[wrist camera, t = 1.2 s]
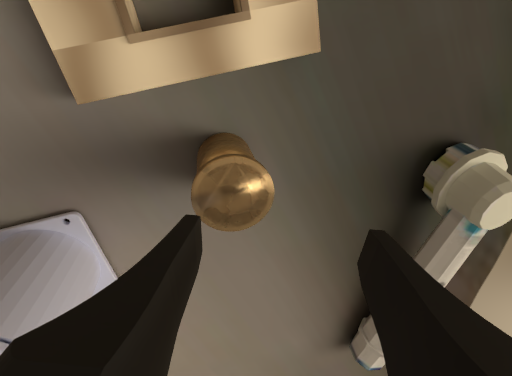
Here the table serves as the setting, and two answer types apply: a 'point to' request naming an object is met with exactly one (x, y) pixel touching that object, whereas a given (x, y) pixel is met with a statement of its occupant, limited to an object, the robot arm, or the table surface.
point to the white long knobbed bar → (451, 223)
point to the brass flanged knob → (230, 184)
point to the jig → (168, 43)
